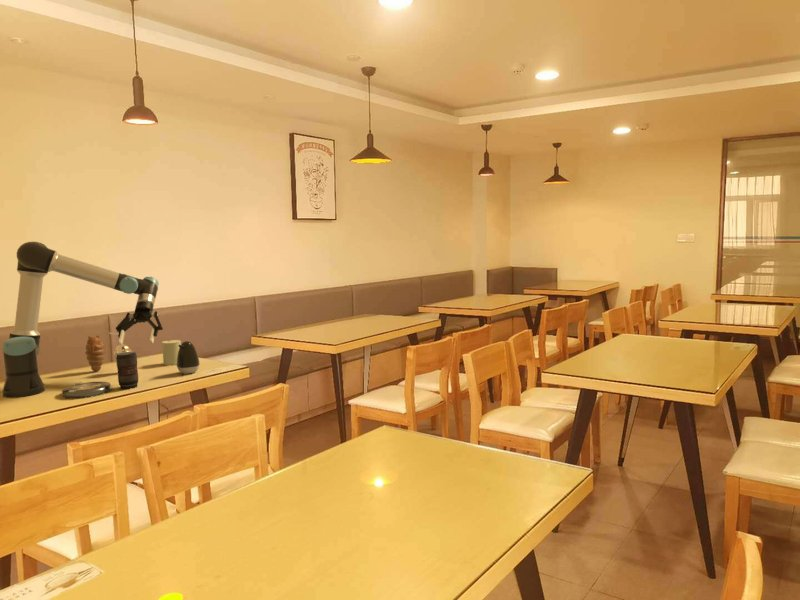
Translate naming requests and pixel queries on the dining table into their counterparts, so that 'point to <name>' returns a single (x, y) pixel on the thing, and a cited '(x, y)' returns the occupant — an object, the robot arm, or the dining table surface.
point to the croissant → (95, 352)
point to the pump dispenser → (187, 358)
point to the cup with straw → (120, 348)
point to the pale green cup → (170, 351)
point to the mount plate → (86, 389)
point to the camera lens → (127, 370)
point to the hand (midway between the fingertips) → (135, 342)
